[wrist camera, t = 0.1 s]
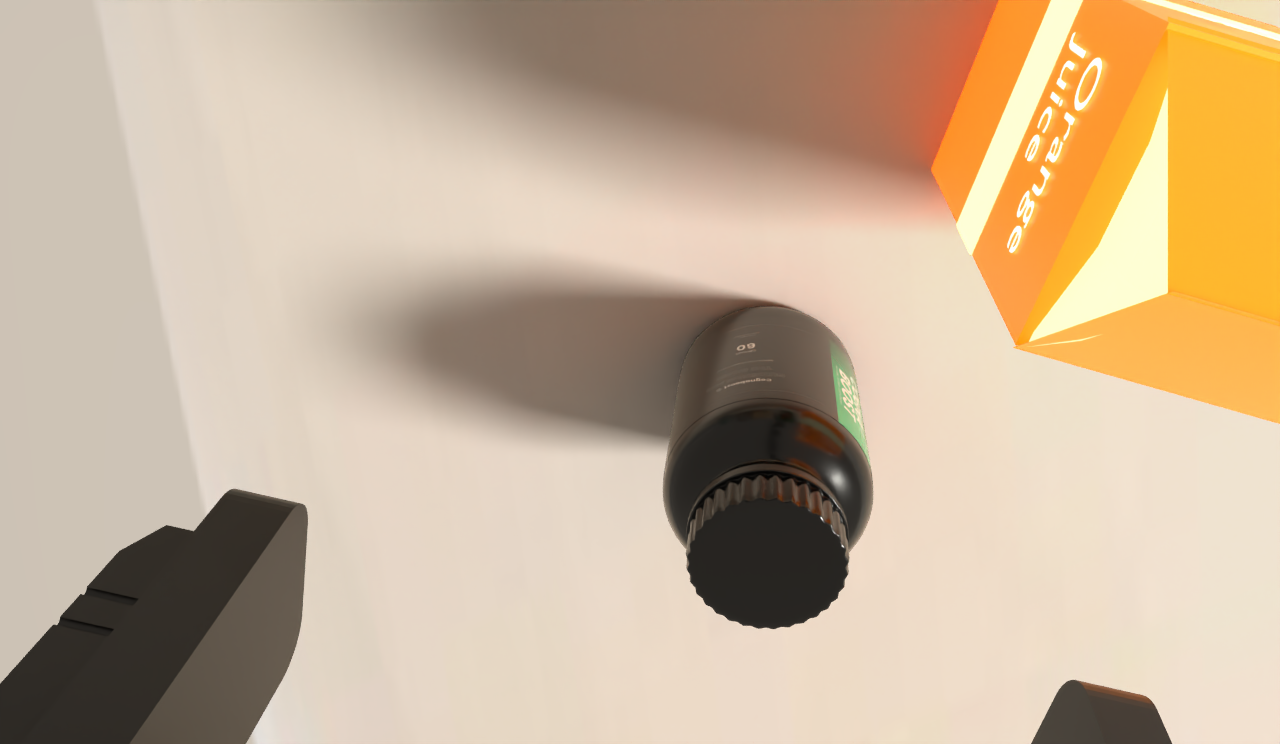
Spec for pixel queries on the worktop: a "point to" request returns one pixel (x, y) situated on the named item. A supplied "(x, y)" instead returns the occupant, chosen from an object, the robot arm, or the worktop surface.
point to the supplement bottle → (768, 466)
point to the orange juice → (1128, 191)
